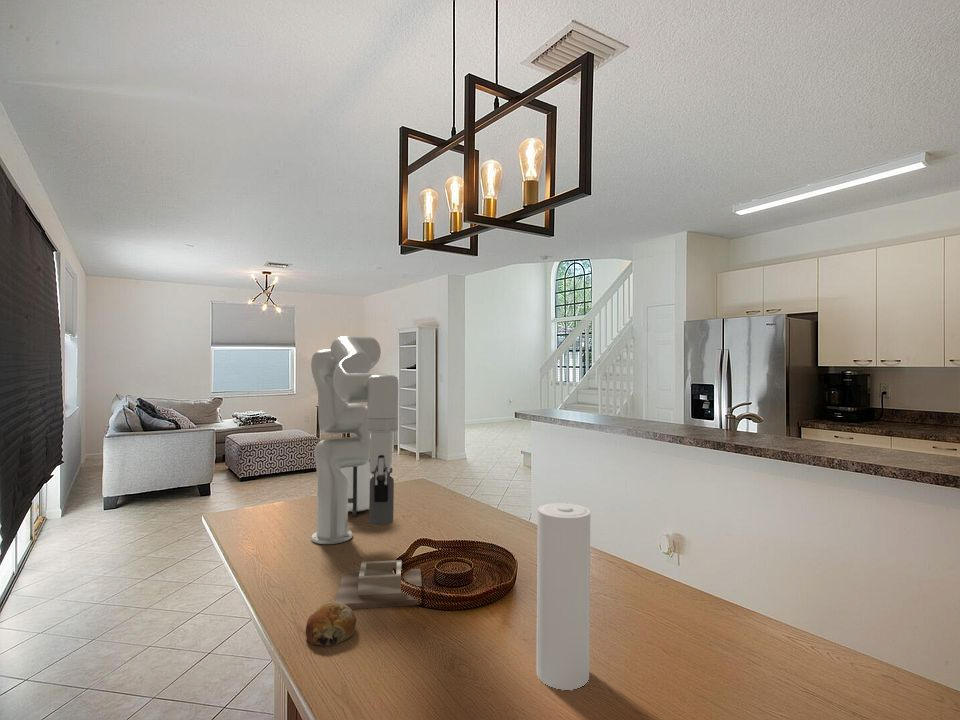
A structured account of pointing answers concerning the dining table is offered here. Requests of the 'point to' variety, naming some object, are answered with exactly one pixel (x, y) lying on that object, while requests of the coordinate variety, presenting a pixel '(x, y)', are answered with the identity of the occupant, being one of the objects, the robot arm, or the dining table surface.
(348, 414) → the robot arm
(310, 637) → the bread roll
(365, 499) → the coffee press
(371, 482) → the bottle
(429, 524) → the dining table surface
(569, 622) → the cylinder container
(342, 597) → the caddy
